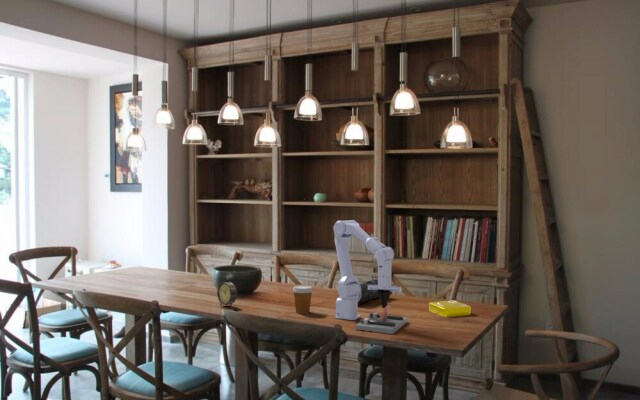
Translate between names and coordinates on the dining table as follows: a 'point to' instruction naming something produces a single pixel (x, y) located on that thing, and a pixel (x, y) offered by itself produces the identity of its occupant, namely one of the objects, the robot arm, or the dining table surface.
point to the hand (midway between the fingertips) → (384, 307)
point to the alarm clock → (227, 293)
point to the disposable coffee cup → (302, 298)
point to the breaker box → (381, 323)
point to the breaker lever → (385, 312)
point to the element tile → (449, 308)
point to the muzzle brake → (368, 291)
